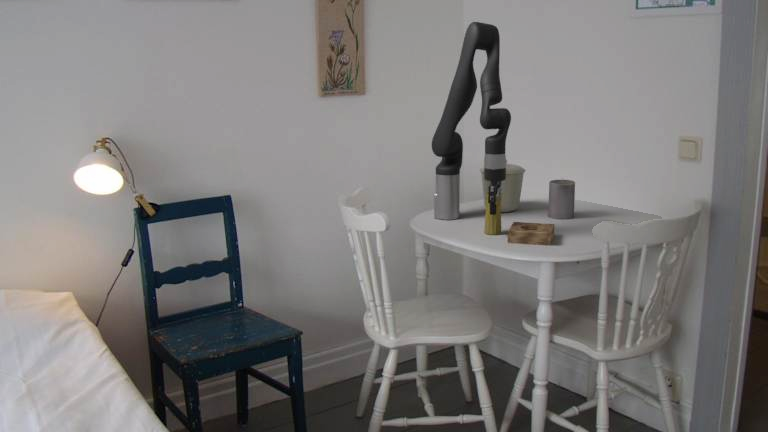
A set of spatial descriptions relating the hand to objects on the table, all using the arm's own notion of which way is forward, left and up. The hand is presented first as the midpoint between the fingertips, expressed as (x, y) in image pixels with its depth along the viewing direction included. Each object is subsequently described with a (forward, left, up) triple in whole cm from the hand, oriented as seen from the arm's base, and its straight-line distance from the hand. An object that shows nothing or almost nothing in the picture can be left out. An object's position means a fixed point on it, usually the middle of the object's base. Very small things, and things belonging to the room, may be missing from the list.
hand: (494, 212), depth 259 cm
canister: (-4, +39, -8) cm, 40 cm away
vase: (-1, 0, -8) cm, 8 cm away
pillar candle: (+20, +32, -8) cm, 39 cm away
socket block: (+13, -5, -8) cm, 16 cm away
